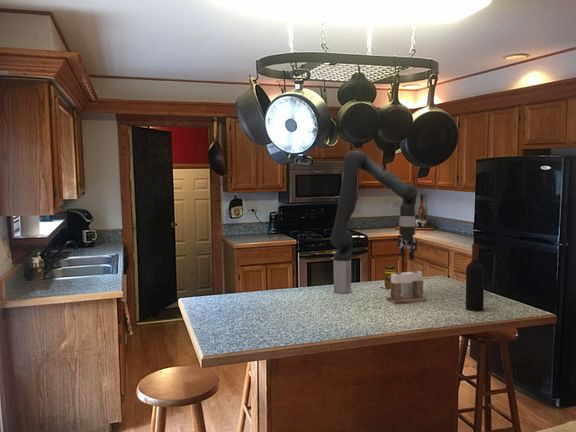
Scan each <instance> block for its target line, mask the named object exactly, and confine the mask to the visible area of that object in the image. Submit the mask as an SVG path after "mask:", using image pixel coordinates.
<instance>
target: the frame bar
mask: <svg viewBox="0 0 576 432" xmlns="http://www.w3.org/2000/svg"><path fill="white" fill-rule="evenodd" d="M420 280H422V281H423V272H422V271H420V270H411V271H406V272H405V271H403V272H396V273H395V274H391V282H392V283H395V284H396V283H404V282H412V281H420Z"/></svg>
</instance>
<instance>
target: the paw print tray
mask: <svg viewBox="0 0 576 432" xmlns="http://www.w3.org/2000/svg"><path fill="white" fill-rule="evenodd" d="M401 295H412V282H404V283H401Z"/></svg>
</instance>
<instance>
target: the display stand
mask: <svg viewBox="0 0 576 432" xmlns="http://www.w3.org/2000/svg"><path fill="white" fill-rule="evenodd" d="M386 300H387V301H389V302H391V303H392V304H394V305H403V304H405V305H406V304H413V303H424V302H428V298H427V297H424V280H423V279H422V280H420V281H412V295H401V283H396V284H395V283H392V282H391V290H390V296H386Z"/></svg>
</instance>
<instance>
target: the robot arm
mask: <svg viewBox="0 0 576 432" xmlns="http://www.w3.org/2000/svg"><path fill="white" fill-rule="evenodd" d="M383 168H384V167H382V166H381V165H379V164H377V162H375V161H373V159H371V158H370V157H369V156H368V155H366V154H365V153H364V152H363V151H362V150H349V151H348V152H347V153H345V156H344V159H343V170H342V171H343V173H342V180H341V185H340V192H339V196H338V202H337V209H336V213H335V219H334V224H333V227H332V230H331V234H330V243H331V245H332V247H334V248H335V249H337V250H336V252H335V253H334V254H333V292H334V293H336V294H349V293H351V292H352V255H353V251H354V250H353V247H354V246H353V244H354V242H353V241H354V240H353V239H354V238H353V235H352V234H353V233H352V232H351V231H350V230H349V229H347V228H348V227H347V226H348V223H349V221H350V219H351V218H352V215H353V213H354V212H355V209H356V206H357V200H358V194H359V193H358V186H357V177H358V176H357V175H358V171H359V170H362V171H364V172H366V173H368V174H369V175H370V176H372V177H374V179H375V180H376V181H377V182H378V183H380V184H381V185H383V186H384V187H386V188H387V189H389V190H391V191H392V192H393V193H395V195H397V196H398V197H400V198H402V203H401V204H400V207H399V222H398V223H399V224H398V225H399V226H398V227H399V229H398V230H399V235H397V247H398V248H399V252H400V255H399V256H400V257H402V258H403V257H405V256H406V248H407V249H408V260H410V261H411V260H414V259H415V252H416V251H418V240H417V238H413V236H415V235H416V203H417V198H418V191H417V190H418V189H417V187H416V186H415V184H412V183H406V182H404V181H403V180H401V178H400V177H399V176H397V175H395V174H394V173H392V172H391V171H389V170H388V169H386V168H384V169H385V171H384V170H383Z"/></svg>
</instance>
